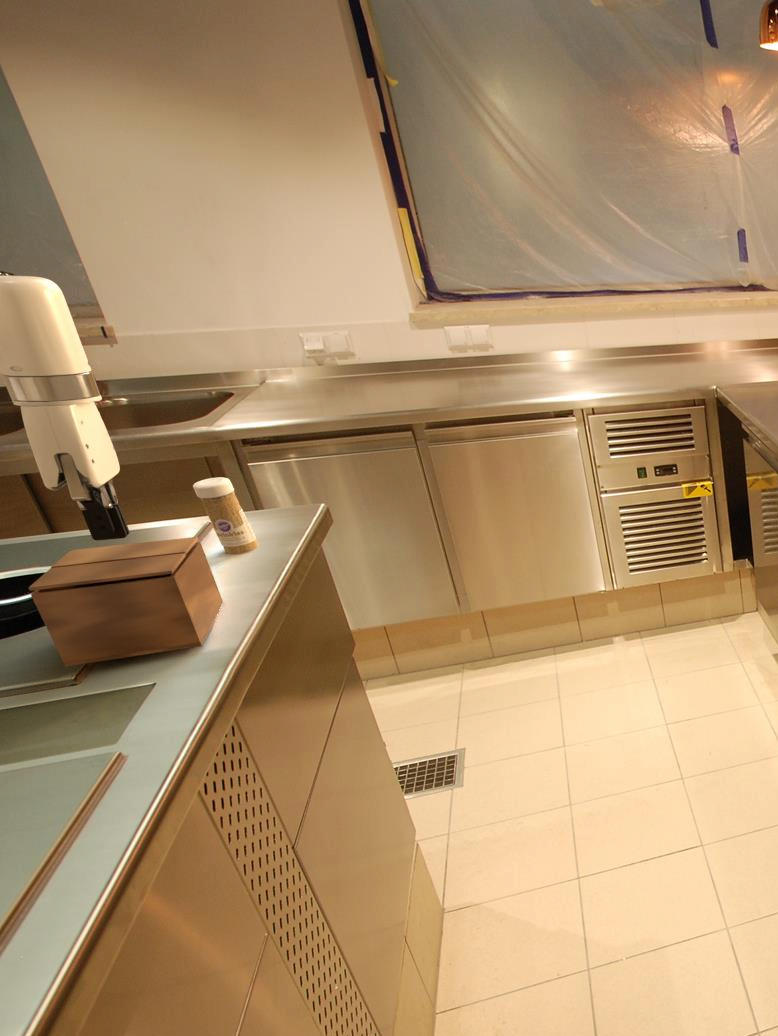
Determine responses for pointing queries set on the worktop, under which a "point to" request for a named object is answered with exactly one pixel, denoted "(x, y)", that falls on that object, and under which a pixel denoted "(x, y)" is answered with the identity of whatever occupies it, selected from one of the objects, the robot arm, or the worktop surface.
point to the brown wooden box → (128, 606)
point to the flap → (126, 552)
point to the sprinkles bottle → (226, 515)
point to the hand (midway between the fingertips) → (112, 537)
